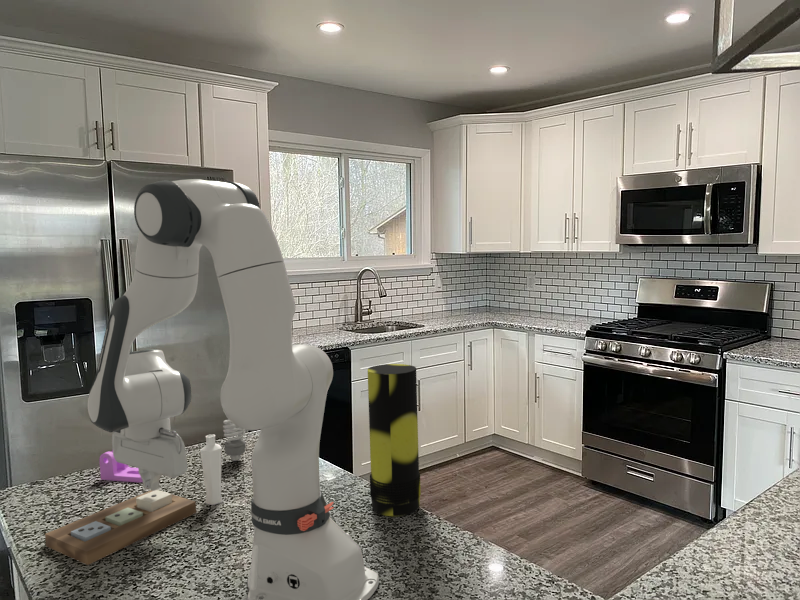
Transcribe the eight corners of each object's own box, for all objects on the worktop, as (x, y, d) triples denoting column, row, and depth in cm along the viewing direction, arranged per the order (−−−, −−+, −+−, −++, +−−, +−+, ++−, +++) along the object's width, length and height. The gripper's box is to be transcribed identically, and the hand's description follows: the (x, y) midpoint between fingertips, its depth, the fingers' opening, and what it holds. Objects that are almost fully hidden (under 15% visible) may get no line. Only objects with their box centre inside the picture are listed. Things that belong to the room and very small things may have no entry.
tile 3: (111, 538, 116) (110, 526, 116) (86, 550, 112) (85, 537, 112) (96, 533, 119) (95, 520, 119) (71, 544, 115) (70, 531, 114)
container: (431, 504, 129) (427, 367, 126) (397, 522, 121) (393, 376, 118) (394, 491, 136) (390, 361, 133) (360, 508, 128) (355, 370, 125)
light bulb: (234, 466, 154) (232, 421, 153) (220, 462, 158) (217, 418, 156) (251, 459, 159) (249, 415, 158) (236, 456, 162) (234, 413, 161)
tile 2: (143, 524, 122) (142, 512, 122) (121, 534, 118) (120, 521, 118) (128, 518, 125) (127, 506, 125) (106, 528, 121) (105, 516, 120)
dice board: (196, 512, 128) (195, 501, 128) (87, 565, 108) (86, 551, 107) (154, 499, 135) (154, 488, 135) (46, 546, 115) (44, 533, 115)
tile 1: (172, 505, 128) (171, 493, 128) (151, 514, 124) (150, 502, 124) (157, 500, 131) (156, 489, 130) (136, 509, 126) (136, 497, 126)
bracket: (100, 480, 148) (98, 452, 148) (116, 471, 154) (114, 445, 153) (146, 483, 145) (144, 455, 145) (160, 474, 151) (159, 448, 150)
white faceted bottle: (219, 506, 131) (215, 439, 129) (200, 505, 132) (196, 438, 130) (229, 497, 135) (225, 432, 134) (211, 496, 136) (207, 432, 135)
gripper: (193, 428, 123) (196, 493, 124) (131, 414, 133) (135, 474, 135) (167, 437, 117) (170, 504, 119) (105, 422, 128) (109, 484, 129)
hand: (151, 488), depth 127 cm, fingers closed
